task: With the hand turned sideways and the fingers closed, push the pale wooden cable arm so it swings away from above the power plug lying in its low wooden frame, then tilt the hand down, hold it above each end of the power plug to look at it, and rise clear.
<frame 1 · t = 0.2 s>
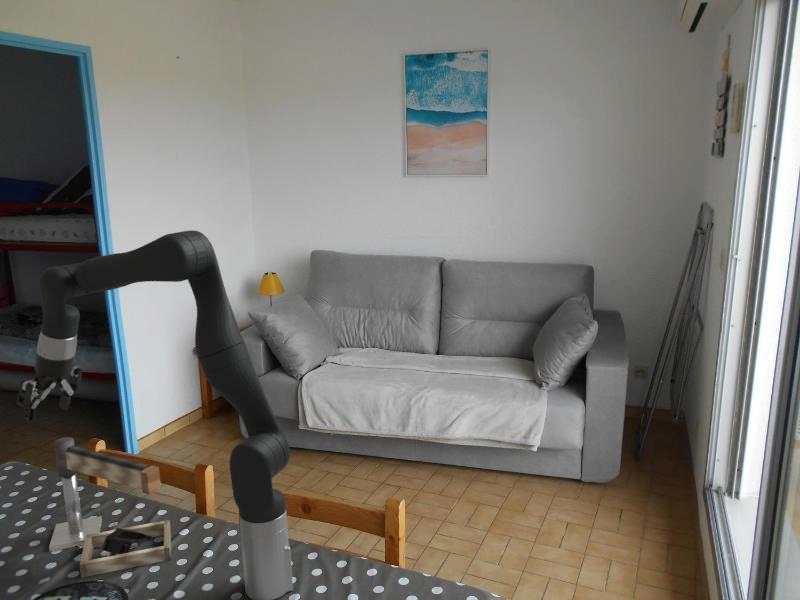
hand: (47, 414, 147), 31 cm above the table, tool tilted 20°, fingers open, 8 cm apart
arm post: (76, 535, 154), on the table
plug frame: (128, 553, 147), on the table
power plug: (130, 553, 147), on the table, touching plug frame
cable arm: (105, 467, 144), point 20 cm above the table, hinge at 0.0°
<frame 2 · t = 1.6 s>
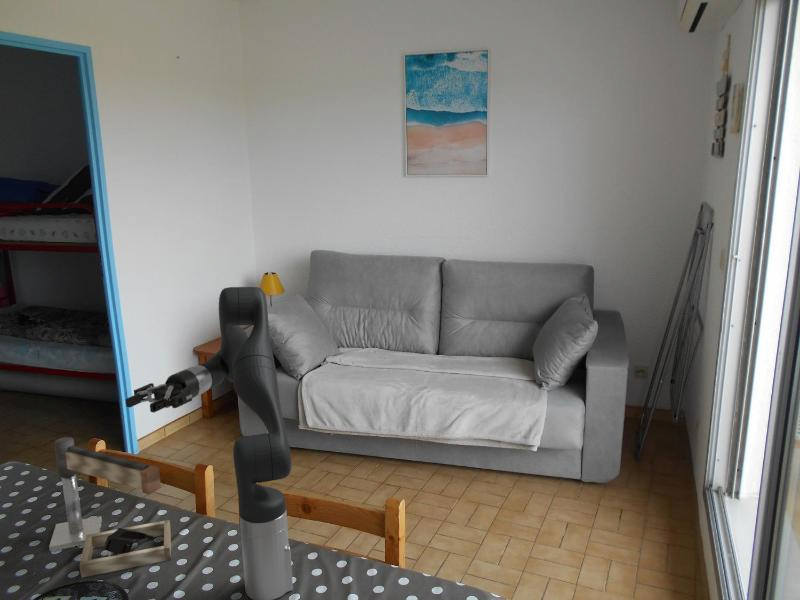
hand: (139, 406, 152), 30 cm above the table, tool horizontal, fingers open, 7 cm apart
nothing on the table moved.
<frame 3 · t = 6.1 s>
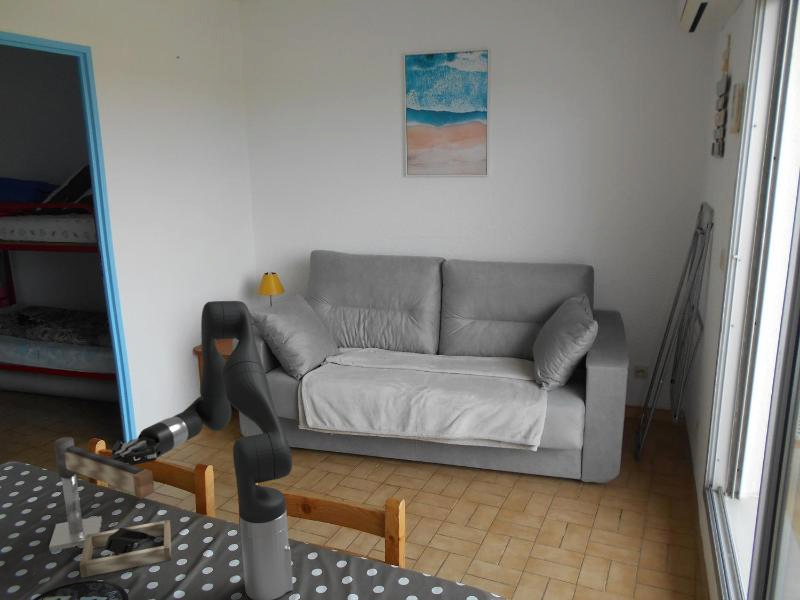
hand: (104, 466, 145), 20 cm above the table, tool horizontal, fingers closed
cable arm: (101, 469, 143), point 20 cm above the table, hinge at -3.9°, touching gripper
everything else where it was.
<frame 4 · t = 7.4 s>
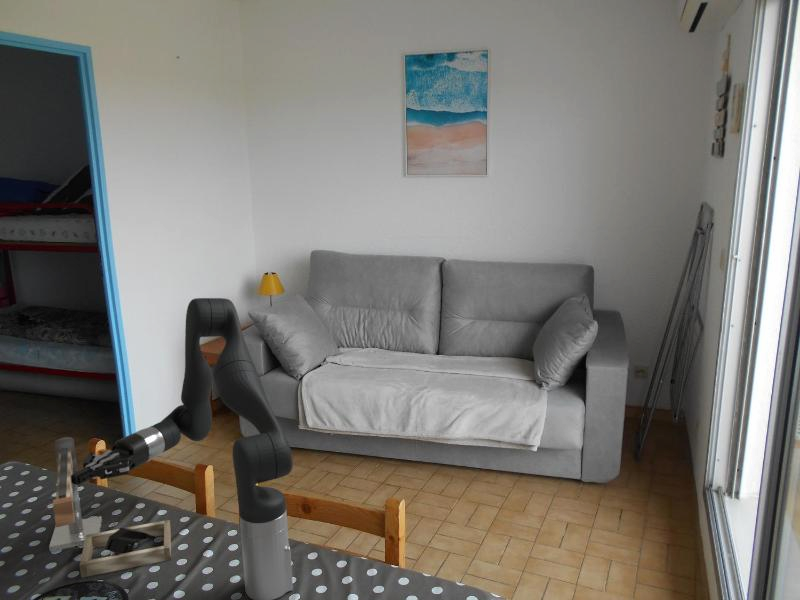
hand: (73, 480, 139), 20 cm above the table, tool horizontal, fingers closed
cable arm: (65, 481, 138), point 20 cm above the table, hinge at -38.2°, touching gripper
everything else where it was.
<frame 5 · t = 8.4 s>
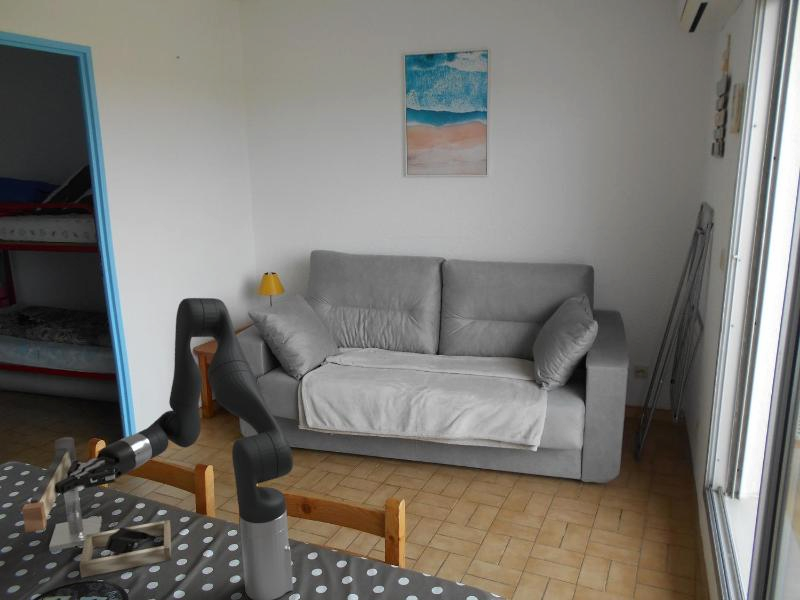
hand: (57, 489, 135), 20 cm above the table, tool horizontal, fingers closed
cable arm: (52, 483, 138), point 20 cm above the table, hinge at -49.1°, touching gripper
everything else where it was.
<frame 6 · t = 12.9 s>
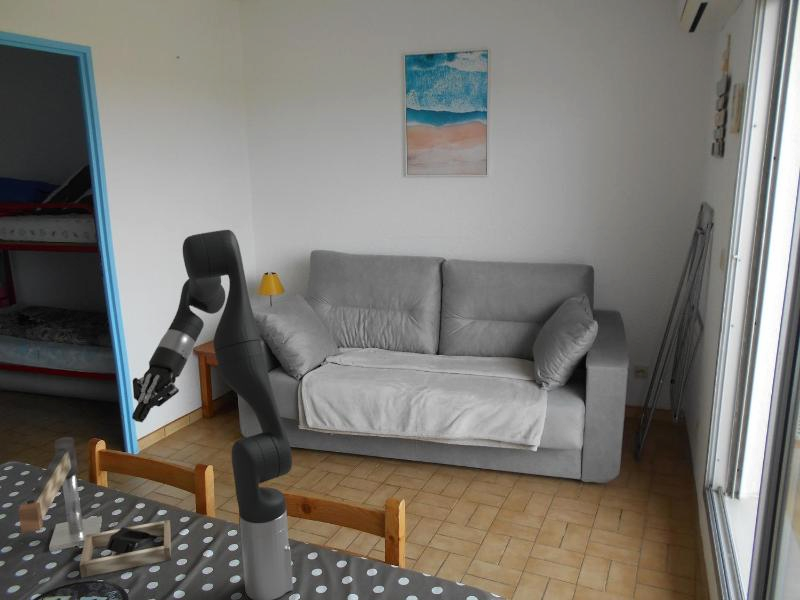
hand: (137, 420, 146), 29 cm above the table, tool tilted 45°, fingers closed
cable arm: (50, 483, 138), point 20 cm above the table, hinge at -50.5°
everything else where it was.
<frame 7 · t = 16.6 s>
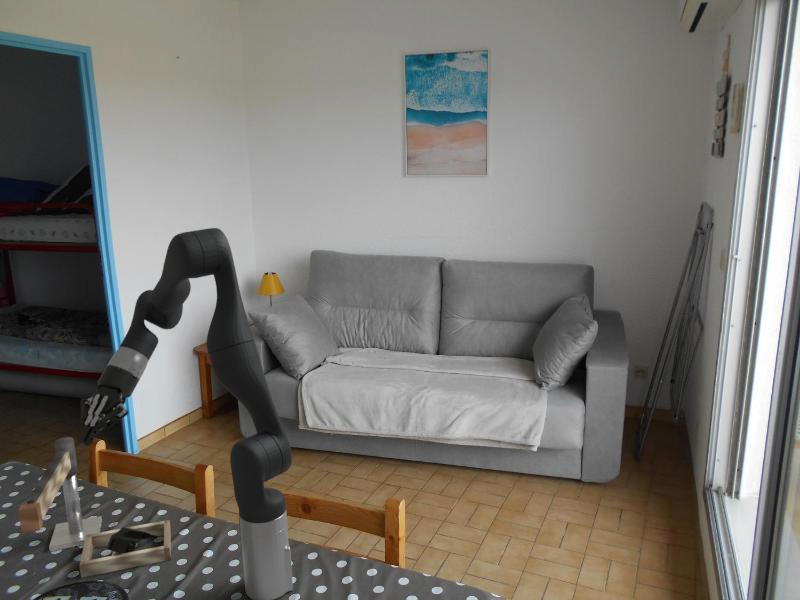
hand: (83, 444, 137), 28 cm above the table, tool tilted 45°, fingers closed
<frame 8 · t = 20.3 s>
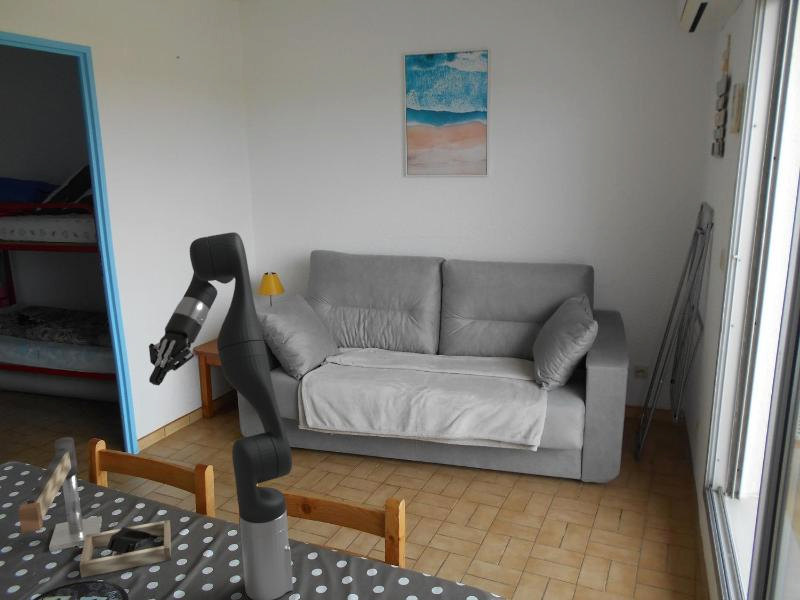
hand: (153, 383, 150), 36 cm above the table, tool tilted 45°, fingers closed
at the end: cable arm at -50° (first picture: +0°); power plug inside the target area on the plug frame (1.5 cm from its centre), point 0.0 cm above the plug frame's base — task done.
